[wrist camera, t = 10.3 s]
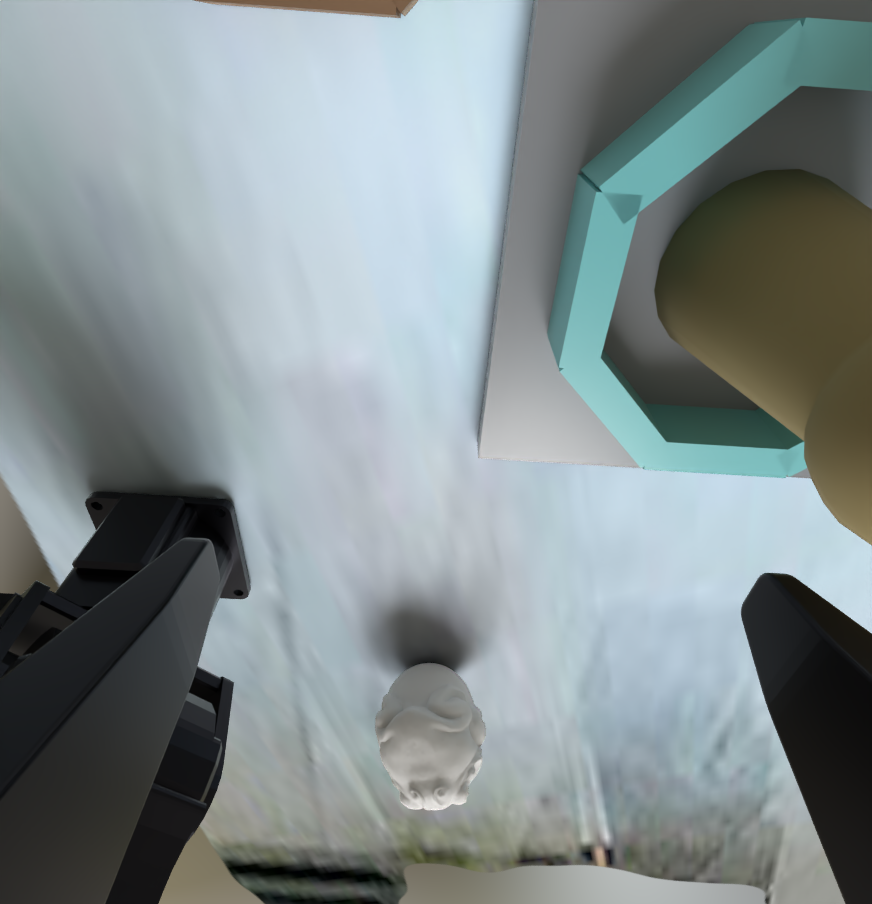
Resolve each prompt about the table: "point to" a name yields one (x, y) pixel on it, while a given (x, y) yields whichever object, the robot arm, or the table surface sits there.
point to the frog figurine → (430, 737)
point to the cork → (785, 317)
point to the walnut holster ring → (330, 6)
